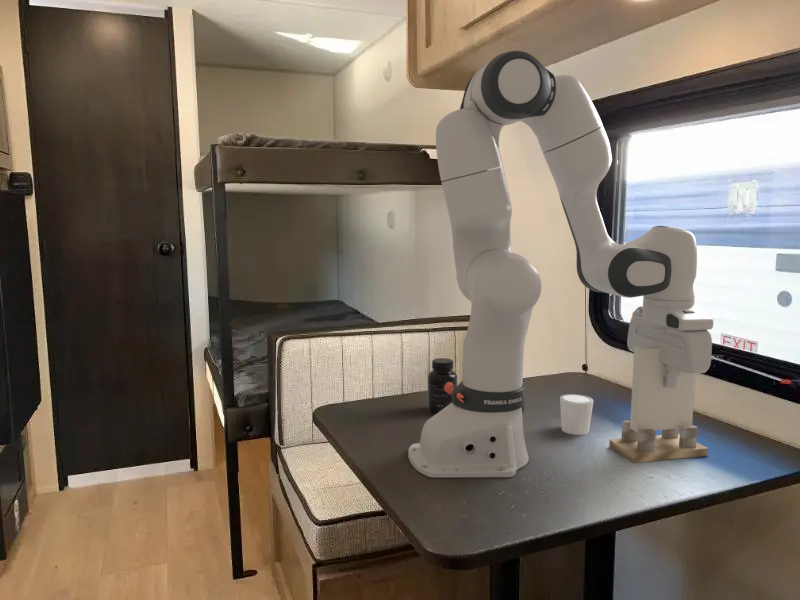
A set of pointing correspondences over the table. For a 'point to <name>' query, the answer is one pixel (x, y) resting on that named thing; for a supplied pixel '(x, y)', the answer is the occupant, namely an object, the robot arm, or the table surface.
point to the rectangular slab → (659, 394)
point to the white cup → (575, 413)
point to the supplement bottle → (440, 384)
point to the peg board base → (658, 444)
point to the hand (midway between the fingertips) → (663, 384)
